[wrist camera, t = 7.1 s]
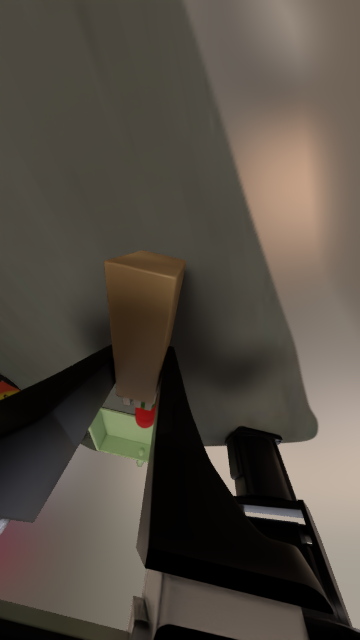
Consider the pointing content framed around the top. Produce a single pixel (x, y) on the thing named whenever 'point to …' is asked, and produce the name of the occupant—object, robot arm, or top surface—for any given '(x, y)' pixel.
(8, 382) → the beverage can
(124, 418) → the tray
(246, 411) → the top surface
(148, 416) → the strawberry
